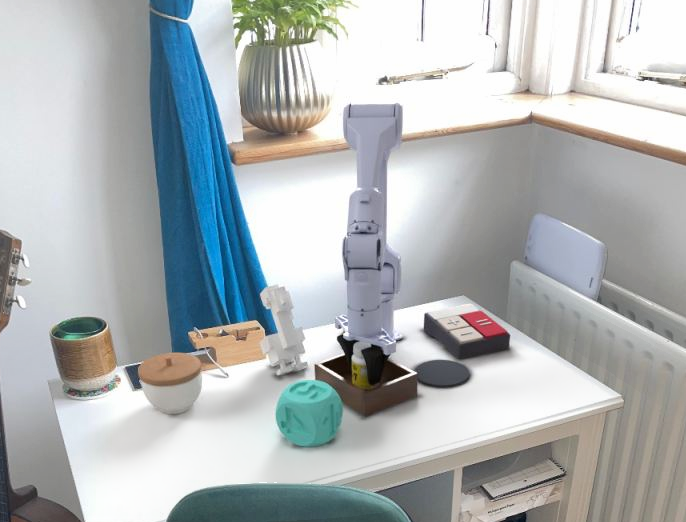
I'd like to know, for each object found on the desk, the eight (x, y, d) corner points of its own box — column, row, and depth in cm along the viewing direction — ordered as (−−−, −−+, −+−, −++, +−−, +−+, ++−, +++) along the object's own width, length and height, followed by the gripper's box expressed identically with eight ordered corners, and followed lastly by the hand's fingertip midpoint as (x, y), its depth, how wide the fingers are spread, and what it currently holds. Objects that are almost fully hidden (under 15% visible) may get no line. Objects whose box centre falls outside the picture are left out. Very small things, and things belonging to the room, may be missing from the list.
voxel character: (287, 366, 140) (261, 284, 140) (268, 380, 151) (244, 305, 151) (323, 356, 142) (297, 276, 142) (302, 371, 153) (278, 297, 153)
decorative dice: (318, 452, 126) (316, 408, 121) (276, 439, 130) (272, 396, 125) (344, 428, 131) (342, 385, 127) (303, 417, 135) (300, 375, 131)
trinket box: (217, 396, 142) (211, 348, 137) (184, 425, 134) (176, 376, 129) (167, 386, 146) (159, 339, 141) (132, 414, 138) (123, 365, 133)
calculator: (460, 342, 148) (423, 309, 159) (458, 362, 151) (422, 329, 162) (512, 331, 151) (472, 299, 162) (509, 351, 154) (470, 319, 165)
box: (315, 385, 144) (314, 363, 142) (365, 366, 150) (365, 345, 147) (364, 417, 134) (364, 394, 132) (417, 395, 140) (417, 373, 137)
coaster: (402, 372, 147) (402, 370, 147) (443, 356, 152) (443, 354, 151) (439, 392, 140) (439, 390, 140) (481, 375, 145) (481, 373, 144)
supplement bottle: (350, 383, 144) (349, 340, 139) (376, 381, 144) (376, 338, 139) (353, 396, 140) (352, 352, 135) (380, 393, 140) (380, 350, 135)
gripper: (319, 298, 136) (322, 369, 144) (372, 324, 126) (372, 400, 134) (352, 287, 139) (354, 358, 147) (406, 313, 129) (405, 387, 137)
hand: (365, 377), depth 141 cm, fingers closed on supplement bottle, 5 cm apart
